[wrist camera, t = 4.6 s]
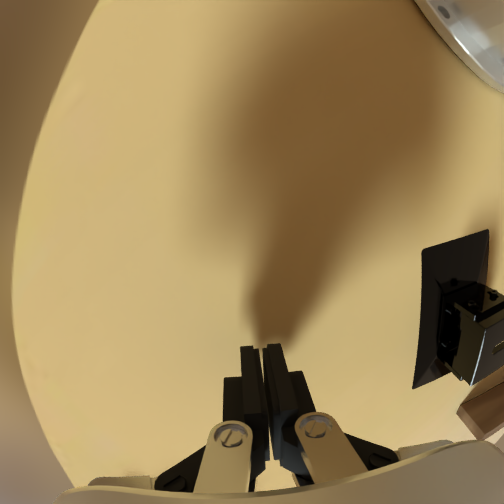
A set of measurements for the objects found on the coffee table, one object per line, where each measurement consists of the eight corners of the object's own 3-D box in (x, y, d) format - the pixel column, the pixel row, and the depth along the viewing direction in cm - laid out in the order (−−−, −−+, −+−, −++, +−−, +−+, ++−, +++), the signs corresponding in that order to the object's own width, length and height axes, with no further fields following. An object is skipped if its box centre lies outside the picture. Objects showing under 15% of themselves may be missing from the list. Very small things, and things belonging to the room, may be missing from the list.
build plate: (469, 368, 16) (502, 402, 11) (390, 405, 16) (419, 452, 11) (489, 203, 13) (546, 217, 8) (397, 221, 13) (461, 245, 8)
